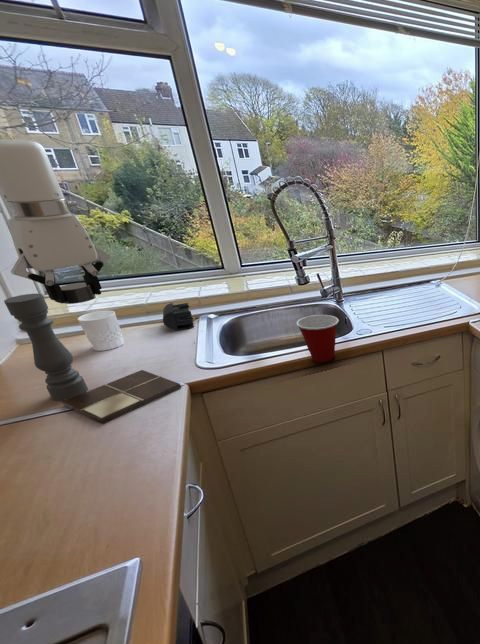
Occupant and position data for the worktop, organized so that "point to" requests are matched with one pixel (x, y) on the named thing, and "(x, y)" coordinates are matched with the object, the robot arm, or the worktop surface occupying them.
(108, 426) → the worktop surface
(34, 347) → the candle holder
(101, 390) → the grid board
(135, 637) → the worktop surface
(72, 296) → the slate stone
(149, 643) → the worktop surface
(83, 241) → the robot arm
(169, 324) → the end cap
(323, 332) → the plastic cup
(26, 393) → the worktop surface
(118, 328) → the white cup
